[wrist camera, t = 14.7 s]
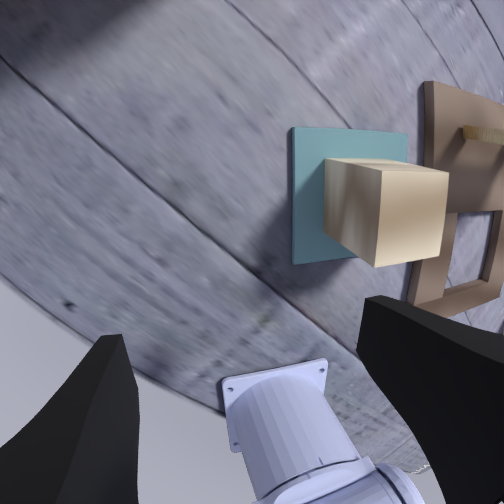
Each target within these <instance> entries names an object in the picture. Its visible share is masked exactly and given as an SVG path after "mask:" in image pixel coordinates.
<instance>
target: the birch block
mask: <svg viewBox="0 0 504 504" xmlns="http://www.w3.org/2000/svg"><path fill="white" fill-rule="evenodd" d="M448 181H449V173H448V172H444V171H440V170H435V169H431V168H427V167H422V166H418V165H413V164H408V163H404V162H399V161H394V160H389V159H367V158H325V190H324V226H323V232H324V233H325V234H327V235H328V236H330V237H331V238H332V239H334V240H335V241H337V242H338V243H340V244H341V245H343V246H344V247H345V248H347V249H348V250H350V251H351V252H353V253H354V254H356V255H357V256H358V257H360V258H361V259H363V260H364V261H365V262H367V263H368V264H370V265H371V266H372V267H374V268H376V267H382V266H388V265H393V264H399V263H404V262H410V261H415V260H420V259H426V258H431V257H436V256H439V253H440V247H441V241H442V234H443V227H444V220H445V212H446V203H447V193H448Z"/></svg>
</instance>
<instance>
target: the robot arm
mask: <svg viewBox="0 0 504 504" xmlns="http://www.w3.org/2000/svg"><path fill="white" fill-rule="evenodd" d="M356 351H357V353H358V355H359V357H360V359H361V361H362V363H363V365H364V366H365V368H366V370H367V371H368V373H369V375H370V376H371V378H372V379H373V380H374V382H375V383H376V384H377V386H378V387H379V388H380V390H381V391H382V392H383V393H384V395H385V396H386V397H387V399H388V400H389V401H390V402H391V404H392V405H393V406H394V408H395V409H396V410H397V412H398V413H399V414H400V415H401V417H402V418H403V419H404V421H405V422H406V423H407V425H408V426H409V428H410V429H411V431H412V432H413V434H414V436H415V438H416V439H417V441H418V443H419V445H420V446H421V448H422V450H423V452H424V454H425V456H426V458H427V460H428V462H429V464H430V466H431V468H432V469H433V472H434V474H435V476H436V479H437V481H438V483H439V486H440V488H441V491H442V493H443V496H444V499H445V502H446V504H499V503H500V502H501V501H502V502H503V503H504V335H502V334H497V333H493V332H489V331H485V330H481V329H478V328H474V327H471V326H468V325H465V324H462V323H459V322H456V321H453V320H450V319H447V318H445V317H442V316H439V315H437V314H434V313H431V312H429V311H426V310H423V309H421V308H418V307H416V306H413V305H410V304H408V303H405V302H402V301H399V300H396V299H393V298H390V297H387V296H383V295H379V296H374V297H369V298H365V303H364V309H363V315H362V321H361V327H360V332H359V338H358V343H357V348H356ZM327 368H328V362H327V360H326V359H325V358H320V359H316V360H312V361H307V362H303V363H299V364H294V365H290V366H285V367H280V368H275V369H270V370H265V371H260V372H254V373H249V374H243V375H238V376H232V377H227V378H225V379H223V380H222V390H223V398H224V406H225V413H226V421H227V428H228V435H229V442H230V448H231V451H232V452H234V453H237V452H242V454H243V457H244V461H245V464H246V467H247V471H248V474H249V477H250V480H251V483H252V486H253V489H254V492H255V496H256V499H257V501H256V502H253V503H252V504H425V503H424V501H423V499H422V497H421V495H420V493H419V492H418V490H417V488H416V487H415V485H414V484H413V482H412V481H411V480H410V479H409V477H408V476H407V475H406V474H405V473H404V472H403V471H402V470H401V469H399V468H398V467H396V466H392V465H389V464H386V463H381V464H379V465H377V466H374V465H373V463H372V462H371V460H370V458H369V457H368V456H365V457H363V458H361V457H360V455H359V453H358V452H357V450H356V448H355V447H354V445H353V443H352V442H351V440H350V439H349V437H348V435H347V434H346V432H345V430H344V429H343V427H342V426H341V424H340V422H339V421H338V419H337V417H336V416H335V414H334V412H333V411H332V409H331V407H330V406H329V404H328V403H327V401H326V399H325V398H324V396H323V394H324V388H325V381H326V375H327ZM320 369H321V370H320ZM228 388H231V389H228ZM139 422H140V415H139V397H138V386H137V384H136V380H135V377H134V374H133V371H132V368H131V364H130V361H129V358H128V354H127V351H126V347H125V344H124V340H123V336H122V334H116V335H104V336H101V337H100V338H99V339H98V340H97V341H96V343H95V344H94V345H93V346H92V348H91V349H90V350H89V352H88V353H87V354H86V356H85V357H84V358H83V360H82V361H81V362H80V363H79V365H78V366H77V367H76V368H75V370H74V371H73V372H72V374H71V375H70V376H69V377H68V379H67V380H66V381H65V383H64V384H63V385H62V386H61V387H60V388H59V390H58V391H57V392H56V393H55V394H54V395H53V397H52V398H51V399H50V400H49V401H48V402H47V403H46V405H45V406H44V407H43V408H42V409H41V410H40V411H39V412H38V414H37V415H35V417H34V418H33V419H32V420H31V421H30V422H29V423H28V424H27V425H26V426H25V427H23V428H22V429H21V430H20V431H19V432H18V433H17V434H16V435H15V436H14V437H13V438H12V439H10V440H9V441H8V442H7V443H6V444H4V445H3V446H2V447H1V448H0V504H139V503H138V490H137V472H138V470H137V469H138V444H139V424H140V423H139Z"/></svg>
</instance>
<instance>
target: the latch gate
mask: <svg viewBox="0 0 504 504" xmlns="http://www.w3.org/2000/svg"><path fill="white" fill-rule="evenodd" d="M463 138H464V139H469V140H475V141H482V142H488V143H493V144H499V145H504V130H501V129H494V128H487V127H478V126H470V125H463Z"/></svg>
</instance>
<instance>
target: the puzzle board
mask: <svg viewBox="0 0 504 504" xmlns="http://www.w3.org/2000/svg"><path fill="white" fill-rule="evenodd" d="M424 98H425V144H424V167H427V168H431V169H435V170H440V171H444V172H448V173H449V181H448V193H447V203H446V212H445V220H444V227H443V234H442V241H441V247H440V253H439V256H436V257H431V258H426V259H420V260H415V261H413V267H412V273H411V278H410V284H409V289H408V294H407V299H406V303H408V304H410V305H413V306H416V307H418V308H421V309H423V310H426V311H429V312H431V313H434V314H437V315H439V316H442V317H445V318H447V317H450V316H453V315H455V314H458V313H461V312H463V311H466V310H469V309H471V308H474V307H476V306H479V305H481V304H484V303H486V302H489V301H491V300H493V299H496V298H498V297H499V295H500V291H501V288H502V284H503V281H504V145H499V144H493V143H488V142H482V141H475V140H469V139H464V138H463V125H470V126H478V127H487V128H494V129H501V130H504V105H502V104H499V103H497V102H494V101H492V100H489V99H487V98H484V97H481V96H479V95H476V94H473V93H470V92H467V91H465V90H462V89H459V88H456V87H453V86H449V85H446V84H443V83H440V82H436V81H424ZM479 211H494V218H493V224H492V230H491V236H490V241H489V246H488V251H487V256H486V261H485V265H484V270H483V274H482V278H481V279H478V280H475V281H471V282H468V283H465V284H461V285H458V286H455V287H451V288H448V289H445V284H446V280H447V275H448V270H449V265H450V260H451V255H452V250H453V244H454V238H455V232H456V225H457V218H458V213H463V212H479Z"/></svg>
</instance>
